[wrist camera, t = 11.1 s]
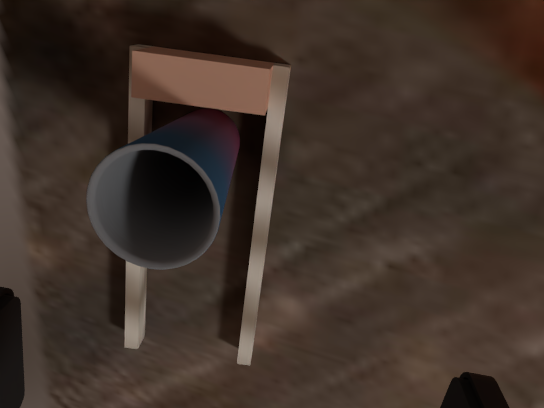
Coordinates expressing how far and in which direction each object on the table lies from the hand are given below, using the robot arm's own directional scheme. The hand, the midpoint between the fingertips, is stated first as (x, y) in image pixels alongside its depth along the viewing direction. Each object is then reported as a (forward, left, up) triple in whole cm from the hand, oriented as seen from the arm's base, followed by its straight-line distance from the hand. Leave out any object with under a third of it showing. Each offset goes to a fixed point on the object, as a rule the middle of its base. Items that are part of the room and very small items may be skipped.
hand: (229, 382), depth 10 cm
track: (+9, -6, -29) cm, 31 cm away
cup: (+2, -6, -29) cm, 30 cm away
